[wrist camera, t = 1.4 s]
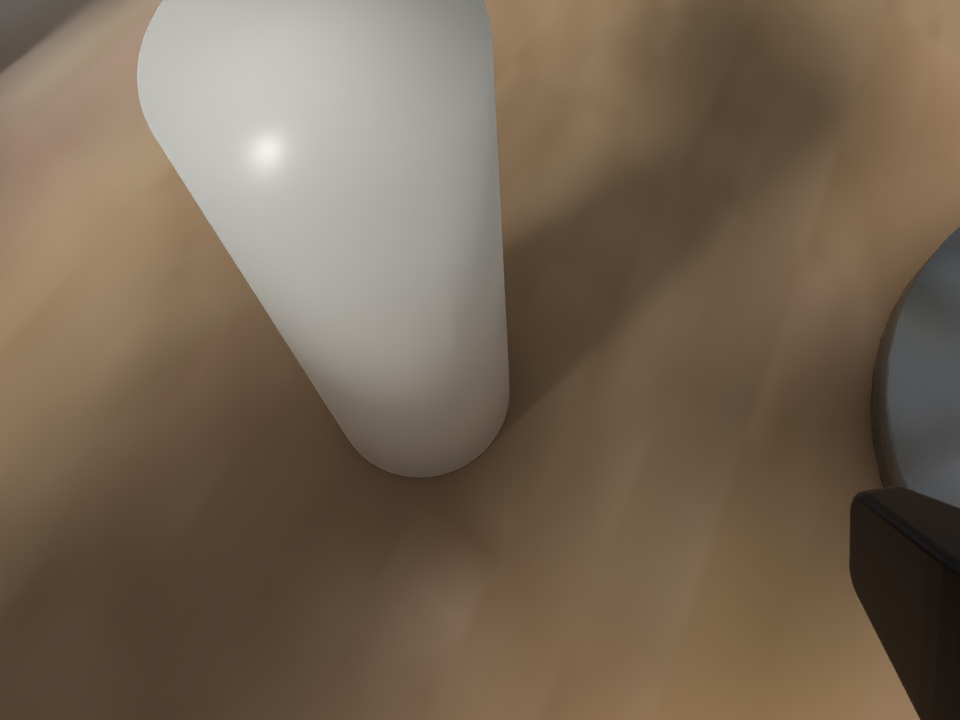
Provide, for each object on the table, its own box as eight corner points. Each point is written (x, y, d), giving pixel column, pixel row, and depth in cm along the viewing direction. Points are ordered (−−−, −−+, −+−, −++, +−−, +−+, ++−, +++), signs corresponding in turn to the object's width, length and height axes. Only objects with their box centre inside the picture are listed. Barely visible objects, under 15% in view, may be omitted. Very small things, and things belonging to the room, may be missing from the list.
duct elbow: (524, 460, 22) (521, 169, 10) (346, 491, 22) (140, 233, 10) (474, 204, 25) (429, -255, 13) (317, 231, 24) (129, -207, 13)
